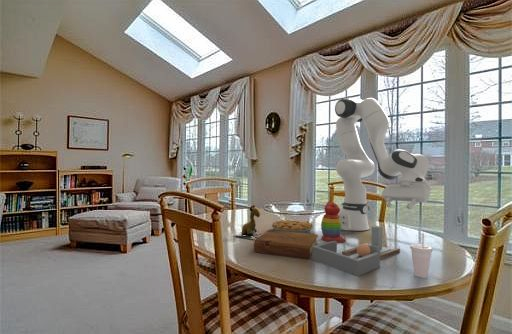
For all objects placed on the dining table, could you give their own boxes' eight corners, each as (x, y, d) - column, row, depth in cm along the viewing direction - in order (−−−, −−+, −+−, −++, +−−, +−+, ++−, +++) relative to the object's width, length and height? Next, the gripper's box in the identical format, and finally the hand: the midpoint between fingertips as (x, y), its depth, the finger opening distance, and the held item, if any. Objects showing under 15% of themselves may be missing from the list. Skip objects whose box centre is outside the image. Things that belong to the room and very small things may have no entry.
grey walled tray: (311, 259, 110) (311, 246, 110) (333, 252, 117) (333, 240, 117) (357, 276, 94) (357, 261, 93) (379, 267, 101) (379, 253, 101)
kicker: (361, 251, 119) (361, 226, 118) (373, 247, 124) (373, 223, 124) (379, 256, 112) (379, 230, 112) (391, 251, 117) (391, 227, 117)
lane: (341, 255, 114) (341, 251, 114) (373, 245, 127) (373, 242, 127) (369, 264, 105) (369, 259, 104) (399, 252, 118) (399, 248, 118)
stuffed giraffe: (256, 241, 135) (256, 207, 136) (226, 237, 145) (225, 205, 145) (272, 234, 149) (272, 204, 149) (244, 231, 158) (243, 202, 159)
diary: (254, 254, 118) (253, 240, 118) (269, 242, 135) (268, 230, 135) (309, 260, 109) (309, 245, 109) (318, 247, 127) (318, 234, 127)
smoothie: (435, 280, 90) (436, 236, 90) (413, 278, 92) (413, 235, 91) (427, 272, 97) (428, 231, 96) (407, 271, 98) (407, 230, 97)
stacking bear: (347, 242, 132) (347, 203, 132) (326, 243, 131) (326, 204, 130) (337, 236, 143) (337, 200, 142) (317, 237, 141) (317, 201, 141)
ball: (354, 256, 113) (354, 243, 113) (361, 253, 116) (361, 241, 116) (365, 259, 109) (365, 246, 109) (372, 257, 112) (372, 244, 112)
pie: (317, 228, 158) (317, 220, 158) (307, 239, 138) (307, 228, 138) (279, 225, 167) (279, 216, 167) (265, 234, 147) (265, 224, 147)
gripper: (385, 179, 139) (373, 201, 134) (429, 178, 122) (418, 203, 116) (391, 188, 141) (380, 209, 136) (435, 188, 124) (424, 213, 119)
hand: (398, 207), depth 126 cm, fingers open, 8 cm apart
